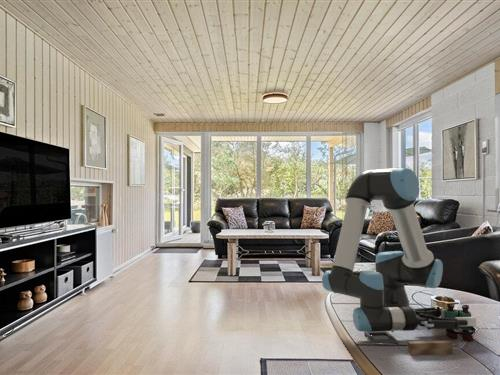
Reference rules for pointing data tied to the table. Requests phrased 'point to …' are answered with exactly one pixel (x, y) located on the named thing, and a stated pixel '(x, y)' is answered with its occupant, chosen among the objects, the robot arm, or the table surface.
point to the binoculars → (465, 329)
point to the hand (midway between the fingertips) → (467, 317)
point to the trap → (380, 337)
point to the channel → (430, 347)
